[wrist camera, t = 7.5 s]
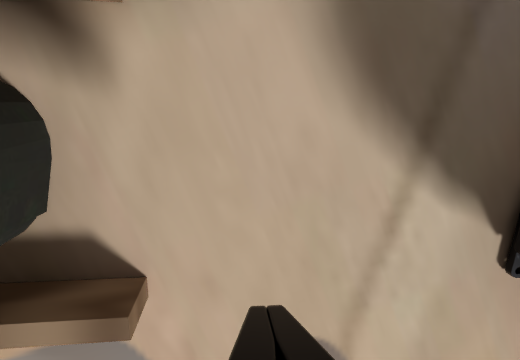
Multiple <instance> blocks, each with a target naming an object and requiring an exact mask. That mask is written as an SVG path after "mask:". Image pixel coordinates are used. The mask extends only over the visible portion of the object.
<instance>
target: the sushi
mask: <svg viewBox="0 0 520 360" xmlns="http://www.w3.org/2000/svg"><path fill="white" fill-rule="evenodd" d="M51 160H52V157H51V146H50V137H49V134H48V132H47V129H46V126H45V123H44V120H43V119H42V118H41V116H40V115H39V113H38V112H37V111H36V109H35V108H34V107H33V105H32V104H31V102H29V101H28V100H27V99H26V98H25V97H24V96H23V95H21V94H20V93H19V92H18V91H17V90H16V89H15V88H13V87H11V86H9V85H7V84H5V83H3V82H1V81H0V246H1V245H2V244H4V243H6V242H7V241H9V240H11V239H12V238H14V237H16V236H17V235H19V234H20V233H22V232H24V231H25V230H26V229H27V228H28V226H29V225H30V224H31V223H32V222H33V221H34V220H35V219H36V217H37V216H39V215H41V214H43V213H45V212H47V201H48V191H49V180H50V170H51Z"/></svg>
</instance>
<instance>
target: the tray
mask: <svg viewBox="0 0 520 360" xmlns="http://www.w3.org/2000/svg"><path fill="white" fill-rule="evenodd" d="M92 1H108V2H122V0H92ZM147 298H148V288H147V277H138V278H115V279H92V280H69V281H45V282H22V283H0V349H7V348H22V347H37V346H52V345H67V344H82V343H97V342H112V341H127V340H131V338H132V336H133V333H134V331H135V328H136V326H137V323H138V321H139V318H140V316H141V313H142V311H143V308H144V306H145V303H146V301H147Z"/></svg>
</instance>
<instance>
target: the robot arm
mask: <svg viewBox="0 0 520 360" xmlns="http://www.w3.org/2000/svg"><path fill="white" fill-rule="evenodd" d="M505 271H506V273H508V274H509V275H511V276H513V277H515V278H520V215H519V219H518V223H517V226H516V230H515V234H514V237H513V241H512V245H511V248H510V252H509V256H508V259H507V263H506V267H505ZM229 360H335V359H334V358H333V357H332V356H331V355H330V354H329V353H328V352H327V351H326V350H325V349H324V348H323V347H322V346H321V345H320V344H319V343H318V342H317V341H316V340H315V339H314V338H313V337H312V336H311V334H310V333H309V332H308V331H307V330H306V329H305V328H304V327H303V326H302V325H301V324H300V323H299V322H298V321H297V320H296V319H295V318H294V317H293V316H292V315H291V314H290V313H289V312H288V311H287V310H286V309H285V308H284V307H283V306H282V305H270V306H267V308H266V307H265V306H251V307H250V308H249V310H248V313H247V315H246V318H245V320H244V323H243V325H242V328H241V330H240V333H239V335H238V338H237V340H236V343H235V345H234V347H233V350H232V352H231V355H230V357H229Z"/></svg>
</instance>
